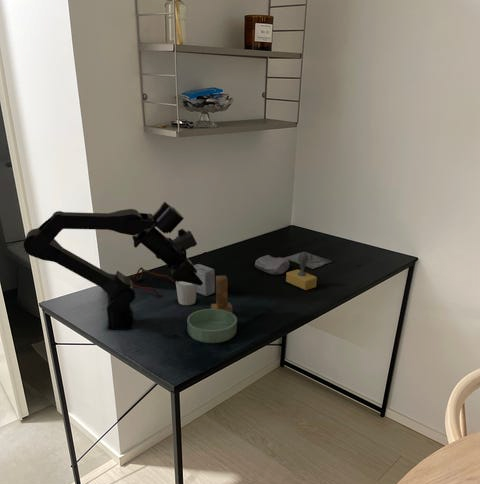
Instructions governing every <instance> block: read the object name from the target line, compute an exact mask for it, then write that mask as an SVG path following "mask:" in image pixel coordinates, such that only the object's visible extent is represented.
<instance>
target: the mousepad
mask: <svg viewBox="0 0 480 484" xmlns="http://www.w3.org/2000/svg"><path fill="white" fill-rule="evenodd" d="M302 252H303V251H302ZM302 252H298V253H294V254H292V255H289V256H286V257H284V258H286V259H287V260H288V261H289V262H290V261H291V262H293V263H296V264H298V265H300V264H299V260H298V257H299V254H300V253H302ZM304 252H305V253H307V255H308V261H307V264H306V266H305V267H307V268H310V269H312V270H313V269H316V268H319V267H322V266H324V265H326V264H329V263H332V262H333V260H331V259H327V258H325V257H321V256H319V255H316V254H312V253H310V252H307V251H304Z"/></svg>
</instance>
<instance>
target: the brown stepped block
mask: <svg viewBox="0 0 480 484" xmlns="http://www.w3.org/2000/svg"><path fill="white" fill-rule="evenodd" d="M228 282H229V278H228V277H227V276H226V275H216V276H215V303H210V309H222V310H226V311H229V312H231V313H233V305H232V304H231V302H230V301H229V302H228V286H229V285H228Z"/></svg>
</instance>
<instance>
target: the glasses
mask: <svg viewBox="0 0 480 484" xmlns="http://www.w3.org/2000/svg"><path fill="white" fill-rule="evenodd" d="M140 272H141V274H140ZM144 273H147V274H150V275H152V276H156V277H163V278H167V279H168V280H169V281H171V282H172V283H173V284H174V283H176V280H175V279H174V278H172V277H171V276H169V275H167V274H160V273H156V272H152V271H151V270H150V271H149V270H146V269H144V268H143V267H139V269H138V270H137V272H136V273H134V275H128V277H130V280H131V281H132V282H133V280H134V278H136V281H138V282H139V281H141V279H142V277H143V276H144ZM139 274H140V277H139ZM133 286H134V288H137V289H141V290H149V291H153V292H154V293H155V294H156V295H157V296H158V297H161V294H160V293H159V291H157V290H156V289H155V288H153V287H144V286H141V285H138V284H135V283H133Z"/></svg>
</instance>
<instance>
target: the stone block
mask: <svg viewBox="0 0 480 484" xmlns="http://www.w3.org/2000/svg"><path fill="white" fill-rule="evenodd" d="M290 264H291V263H290V260H287V259H286V258H285V257H280V256H279V257H274V256H271V255H269V254H266V255H263V256H260V257H259V258H257V259H256V260H255V263H254V267H255V268H256V269H257V270H260V271H263V272H265V273H267V274H270V275H282V274H284V273H285V272H287V271H289V269H290Z"/></svg>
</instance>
